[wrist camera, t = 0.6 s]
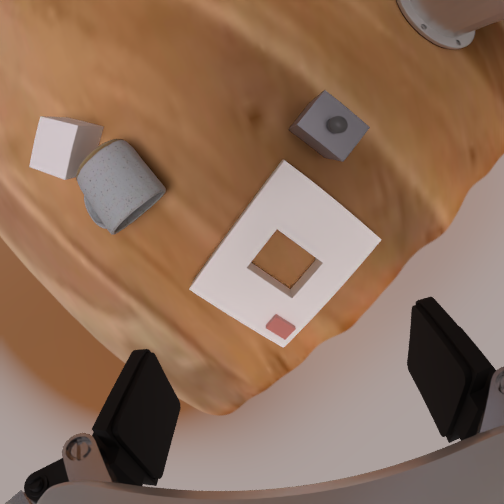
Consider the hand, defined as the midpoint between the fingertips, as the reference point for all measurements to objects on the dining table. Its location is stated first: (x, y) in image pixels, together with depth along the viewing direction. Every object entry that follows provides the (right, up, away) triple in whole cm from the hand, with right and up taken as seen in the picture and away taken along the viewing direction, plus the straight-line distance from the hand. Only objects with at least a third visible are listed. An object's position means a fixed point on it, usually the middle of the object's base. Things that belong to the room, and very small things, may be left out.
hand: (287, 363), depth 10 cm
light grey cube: (-23, +17, +22) cm, 36 cm away
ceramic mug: (-16, +11, +24) cm, 31 cm away
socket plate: (+2, +3, +26) cm, 26 cm away
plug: (+6, +17, +21) cm, 28 cm away
